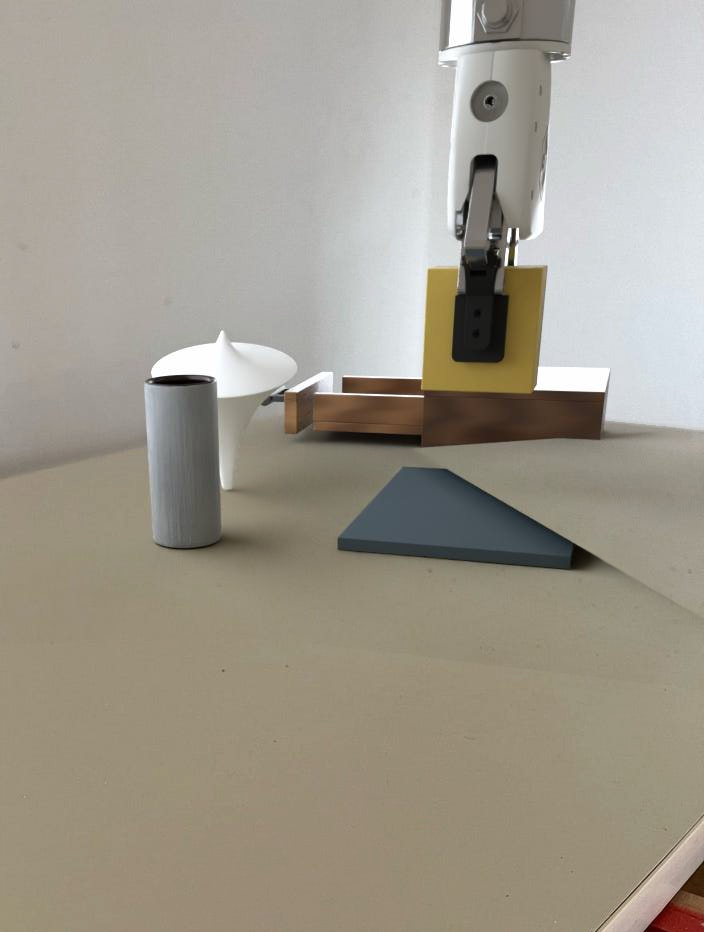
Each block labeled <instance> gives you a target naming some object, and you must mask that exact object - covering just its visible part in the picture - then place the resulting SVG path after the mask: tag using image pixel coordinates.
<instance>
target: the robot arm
mask: <svg viewBox="0 0 704 932" xmlns="http://www.w3.org/2000/svg"><path fill="white" fill-rule="evenodd" d="M576 2H577V0H441V4H440V5H441V6H440V26H439V42H438V43H439V44H438V45H439V46H438V47H439V48H438V49H439V50H438V66H439V67H443V68H450V69H455V80H454V88H453V89H454V91H453V94H452V100H453V104H452V115H451V126H450V127H451V129H450V142H449V159H448V177H447V202H446V204H447V205H446V224H447V232H448V234H449V235H450V236H451V238H452V239H454V240H455V241H457V242H460V247H459V261H458V262H459V263H458V266H459V272H458V284H457V294H458V295H455V307H454V324H453V340H452V359H453V360H454V361H456V362H481V363H499V362H500V361H502V360H503V358H504V353H505V340H506V328H507V315H508V303H509V295H504V291H505V282H506V271H507V266H511V265H517V262H518V247H519V241H529V240H533V239H536V238H537V237H538V236H539V235H540V234H541V233H542V232H543V230H544V220H545V219H544V218H545V217H544V216H545V202H546V201H545V198H546V186H547V185H546V184H547V170H548V169H547V168H548V157H549V143H550V128H551V113H552V109H551V108H552V83H553V82H552V80H553V79H552V64H554V63H559V62H564V61H566V60H567V59H570V58H571V56H572V55H571V54H572V45H573V35H574V22H575V13H576Z"/></svg>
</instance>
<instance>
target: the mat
mask: <svg viewBox="0 0 704 932" xmlns="http://www.w3.org/2000/svg"><path fill="white" fill-rule="evenodd" d="M575 547H576V543H575V542H574V541H572V540H571V539H569V538H566V537H565V536H563V535H561V534H560V533H558V532H556V531H555V530H553V529H552V528H549V527H547V526H546V525H544V524H542V523H540V522H539V521H537V520H536V519H534V518H532V517H531V516H529V515H527V514H525V513H523V512H522V511H520V510H519V509H517V508H515V507H513V506H511V505H509V504H508V503H506V502H505V501H503V500H502V499H500V498H498V497H496V496H495V495H493V494H491V493H489V492H487V491H486V490H484V489H482V488H481V487H479V486H477V485H476V484H474V483H472V482H470V481H468V480H467V479H465V478H464V477H462V476H460V475H458V474H456V473H454V471H451V470H449V469H448V468H441V467H439V468H438V467H422V466H421V467H420V466H404V465H403V466H402V467H400V470H398V472H397V473H396V474H395V475H394V476H393V477H392V478H391V479H390V480H389V482H387V484H386V485H384V487H383V488H382V489H381V490H380V491H379V492H378V493H377V494H376V495H375V497H373V498H372V499H371V501H369V503H368V504H367V505H366V506H365V507H364V509H362V511H361V512H359V514H358V515H357V516H356V517H355V518H354V519H353V520H352V522H351V523H349V525H347V527H346V528H345V529H344V530H343V531H342V532H341V533H340V534H339V536H337V547H336V549H337V550H340V551H342V550H343V551H353V552H364V553H376V554H389V555H401V556H410V555H411V556H412V557H423V556H426V557H425V558H433V557H435V559H445V558H447V560H458V561H470V562H481V563H494V564H505V565H515V566H516V565H517V566H528V567H529V566H530V567H538V568H539V567H540V568H541V567H542V568H553V569H562V570H571V566H572V562H573V556H574V553H575ZM437 557H439V558H437ZM423 558H424V557H423Z"/></svg>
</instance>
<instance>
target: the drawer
mask: <svg viewBox="0 0 704 932" xmlns="http://www.w3.org/2000/svg"><path fill="white" fill-rule="evenodd" d="M421 385H422V377H411V376H410V377H407V376H404V377H403V376H374V375H373V376H369V375H368V376H367V375H343V376H342V377H341V392H334V372H332V371H322V372H321V371H320V372H319V373H318V374H316V375H313V376H312V377H310V378H307V379H306V380H305V381H302V382H301V383H299V384H297V385H294V386H293V387H286V384H285V385H283V386H282V387H280V388H279V389H277V390H276V391H275V392H274V393H272V394H271V395H270V396H269V397H268V398H267V399H265V400H264V401H263V402H262V404H261V405H260V406H263V407H267V406H270V405H271V404H273V403H284V404H283V405H284V406H283V407H284V408H283V409H284V413H283V415H284V418H283V419H284V421H283V422H284V434H285V435H297V434H300V433H301V432H303V431H304V430H305V429H306V428H308V427H310V426H312V431H323V432H325V431H326V432H343V433H344V432H346V433H367V434H368V433H369V434H370V433H371V434H389V435H409V436H411V435H413V436H422V419H423V397H424V390H422V389H421Z"/></svg>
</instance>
